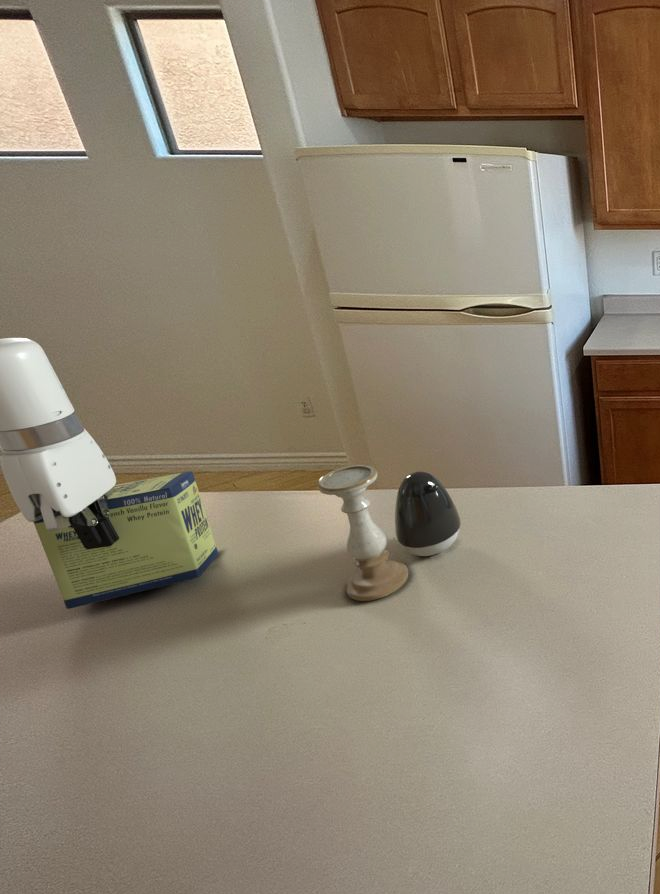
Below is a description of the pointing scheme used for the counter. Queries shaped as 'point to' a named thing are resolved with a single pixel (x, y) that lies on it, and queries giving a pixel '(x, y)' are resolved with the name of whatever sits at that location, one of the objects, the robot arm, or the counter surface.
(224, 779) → the counter surface
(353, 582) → the candle holder
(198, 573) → the protein box
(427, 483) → the dark grey egg shape
